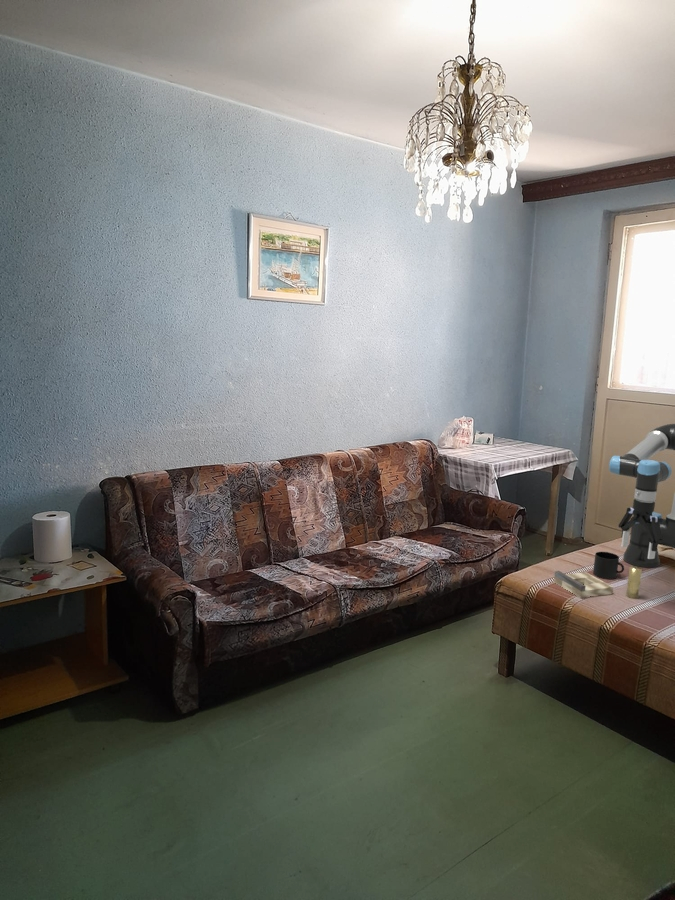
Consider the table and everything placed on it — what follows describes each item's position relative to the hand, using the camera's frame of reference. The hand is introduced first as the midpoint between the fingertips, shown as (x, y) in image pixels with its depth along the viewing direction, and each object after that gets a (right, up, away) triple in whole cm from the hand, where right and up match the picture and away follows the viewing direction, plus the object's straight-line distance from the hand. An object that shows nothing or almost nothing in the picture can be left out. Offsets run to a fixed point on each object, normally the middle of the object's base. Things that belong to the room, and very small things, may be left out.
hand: (637, 552), depth 250 cm
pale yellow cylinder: (0, -18, +4) cm, 19 cm away
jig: (-18, -16, +10) cm, 26 cm away
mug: (-1, -14, +24) cm, 28 cm away
